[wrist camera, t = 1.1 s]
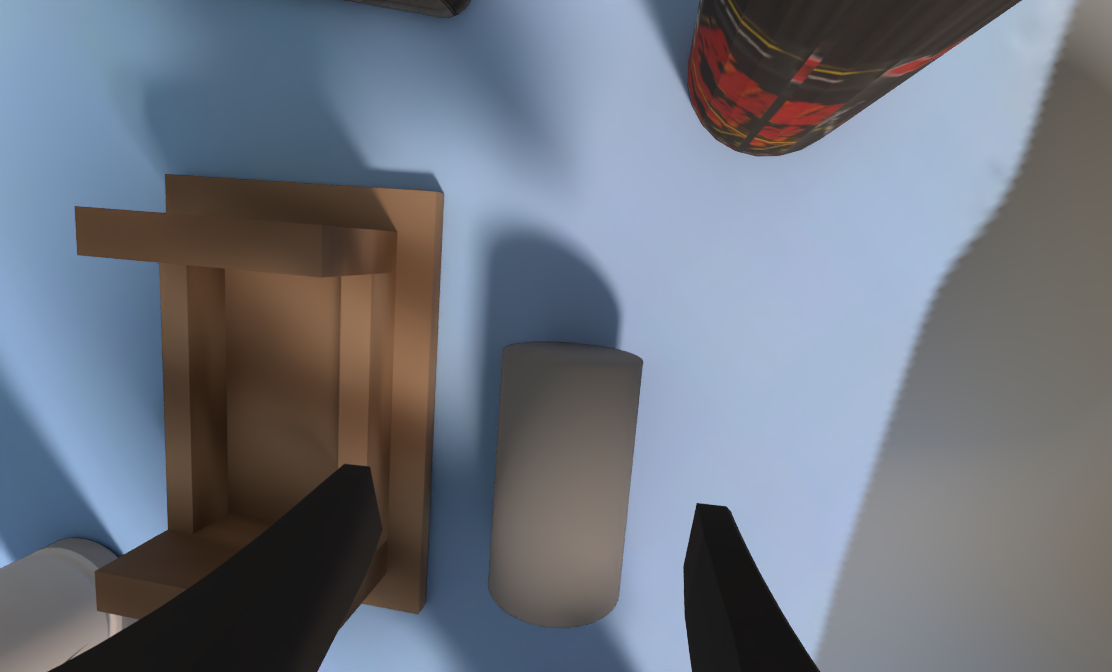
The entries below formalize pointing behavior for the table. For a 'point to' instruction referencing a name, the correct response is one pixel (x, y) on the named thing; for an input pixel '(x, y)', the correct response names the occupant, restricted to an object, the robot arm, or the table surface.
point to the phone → (422, 6)
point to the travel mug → (53, 606)
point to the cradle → (284, 369)
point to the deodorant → (813, 62)
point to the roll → (562, 480)
